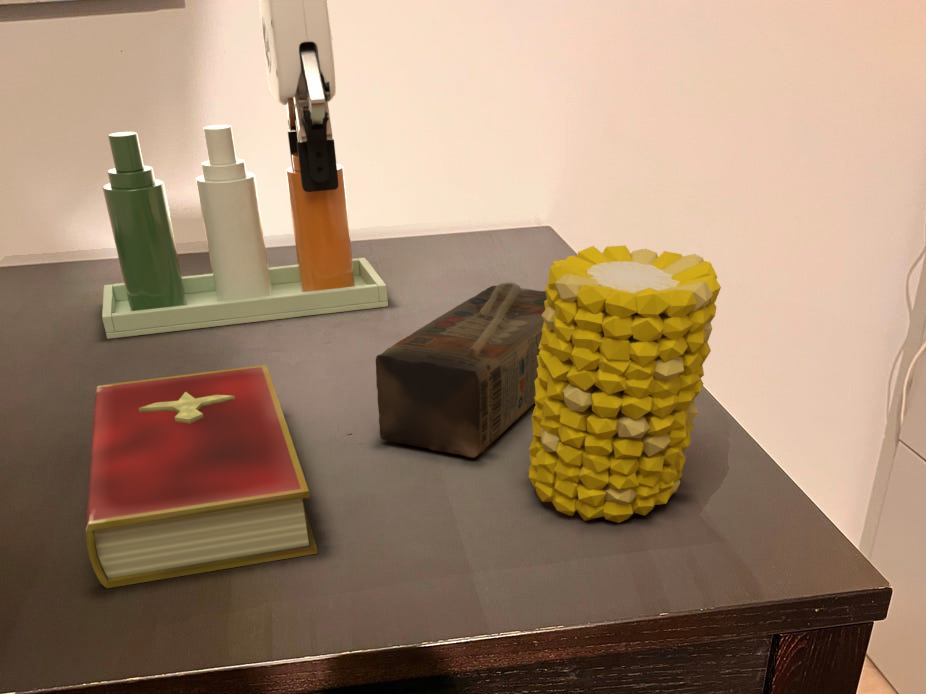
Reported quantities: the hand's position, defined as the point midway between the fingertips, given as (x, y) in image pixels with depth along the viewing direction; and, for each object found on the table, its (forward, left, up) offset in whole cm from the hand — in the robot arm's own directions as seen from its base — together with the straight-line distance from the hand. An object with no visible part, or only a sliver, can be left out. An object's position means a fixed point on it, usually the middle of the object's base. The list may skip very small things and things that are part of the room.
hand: (315, 181), depth 93 cm
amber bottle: (0, 0, -10) cm, 10 cm away
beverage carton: (+31, -9, -11) cm, 34 cm away
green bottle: (-8, -14, -10) cm, 19 cm away
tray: (-4, -7, -10) cm, 13 cm away
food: (+47, -14, -11) cm, 50 cm away
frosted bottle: (-4, -7, -10) cm, 13 cm away
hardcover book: (+28, -31, -11) cm, 43 cm away
